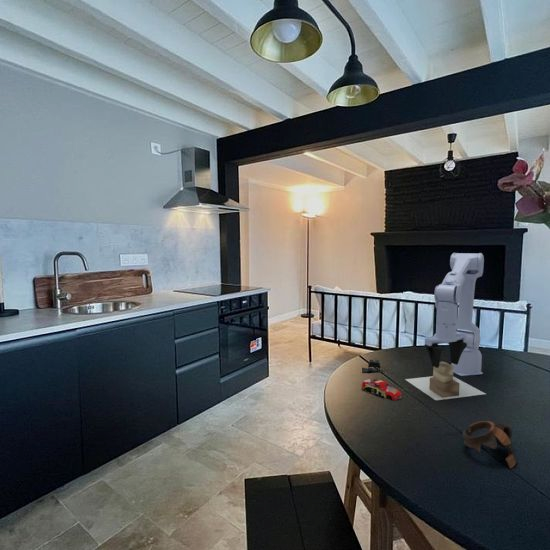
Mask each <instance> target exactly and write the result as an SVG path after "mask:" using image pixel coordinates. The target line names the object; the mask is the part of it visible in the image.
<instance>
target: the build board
mask: <svg viewBox="0 0 550 550" xmlns="http://www.w3.org/2000/svg"><path fill="white" fill-rule="evenodd" d="M430 377H433V375H432V376H424V377H414V378H405V380H404V381H407V382H408V383H409V384H411V385H412V386H414V387H415V388H417V389H418V390H420V391H421V392H422V393H424V394H426V395H427V396H429V397H430V398H431V399H433V400H434V401H441V400H442V401H443V400H449V399H450V400H451V399H457V398H466V397H473V396H482V395H486V393H485V392H483V391H481V390H479V388H476V387H474V386H472V385H471V384H468V383H466V381H463V380H461V379H459V378H457V377H456V376H453V380H455V381H456V382H458V383H460V385H459V396H452V397H444V398H442V397H440V396H439V395H437V394H436V393H434V392H433V391H431V390H430V389H429V386H430Z"/></svg>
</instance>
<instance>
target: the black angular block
mask: <svg viewBox="0 0 550 550" xmlns="http://www.w3.org/2000/svg"><path fill="white" fill-rule="evenodd" d="M380 361H381V360H379V359H375V360H374V359H369V361H368V363H367V367H361V368H362V373H361V374H366V373H367V374H376V373H384V372H385V370H386V369H381V368H382V367H381V362H380ZM380 369H381V370H380ZM385 373H386V372H385Z"/></svg>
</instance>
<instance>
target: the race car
mask: <svg viewBox="0 0 550 550" xmlns="http://www.w3.org/2000/svg"><path fill="white" fill-rule="evenodd" d="M361 388H362V390H364V391H365V392H366V393H368V392H369V394H373V395H375V396H378V397H381V398H382V399H384V400H386V399H388V400H390V401H400V400H403V399H402V397H403V394H402V392H401V391H400V390H399V389H397V388H395V387H394V386H392V384H390V383H388V382H386V381H385V380H382V379H378V378H366V379H364V380H363V382H362V384H361Z"/></svg>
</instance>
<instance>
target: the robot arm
mask: <svg viewBox="0 0 550 550" xmlns="http://www.w3.org/2000/svg"><path fill="white" fill-rule="evenodd" d="M484 257H485V256H484V255H483V253H482V252H479V253H474V252H473V253H469V252H467V253H465V252H464V253H463V252H461V253H459V252H453V253H452V254H451V255H450V259H449V265H450V269H451V271H449V272H448V273H447V274H446V275H445V277H444V278H443V280H442V282H441V283H440V284H438V285H436V286H435V288H434V296H433V297H434V302H435V303H434V306H435V308H436V316H435V317H436V323H435V333H434V335H433V336H429V337H425V338H424V347H425V350H426V351H427V352H428V356H429V358H430V363H431V365H432V367H433V366H434V367H436V368H439V364H440V362H441V361H440V360H441V356H442V352H443V350H444V348H443V347H441V346H440V344H448V346H449V353H450V354H449V355H450V363H451V364H450V365H453V374H456V375H459V376H460V377H462V376H463V377H464V376H477V375H483V374H484V373H483V372H482V363H483V361H482V359H483V358H482V357H483V355H482V353H481V351H480V350H479V349H480V348H479V347H480V345H481V344H480V343H481V331H480V328H479V327H478V326H477V325H476V324H474V323H473V311H474V301H475V289H476V281H477V279H478V278H480V277H481V278H482V276H483V274H484V263H485V258H484Z"/></svg>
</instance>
